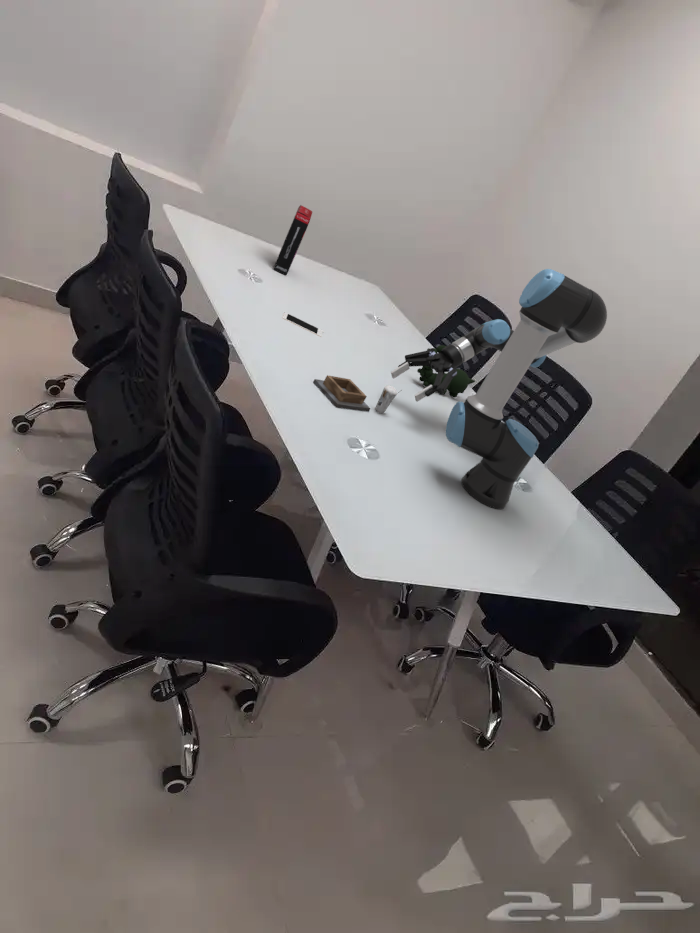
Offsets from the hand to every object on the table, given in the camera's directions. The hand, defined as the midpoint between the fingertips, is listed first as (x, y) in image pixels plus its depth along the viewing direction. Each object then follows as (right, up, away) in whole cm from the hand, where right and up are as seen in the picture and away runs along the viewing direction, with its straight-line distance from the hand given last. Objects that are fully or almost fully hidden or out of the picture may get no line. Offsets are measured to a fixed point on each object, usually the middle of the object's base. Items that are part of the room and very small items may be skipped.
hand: (403, 386), depth 232 cm
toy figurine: (+17, +3, +46) cm, 49 cm away
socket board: (-20, -4, -6) cm, 21 cm away
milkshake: (-8, -8, 0) cm, 11 cm away
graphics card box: (-48, +62, +88) cm, 119 cm away
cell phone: (-35, +27, +37) cm, 58 cm away
